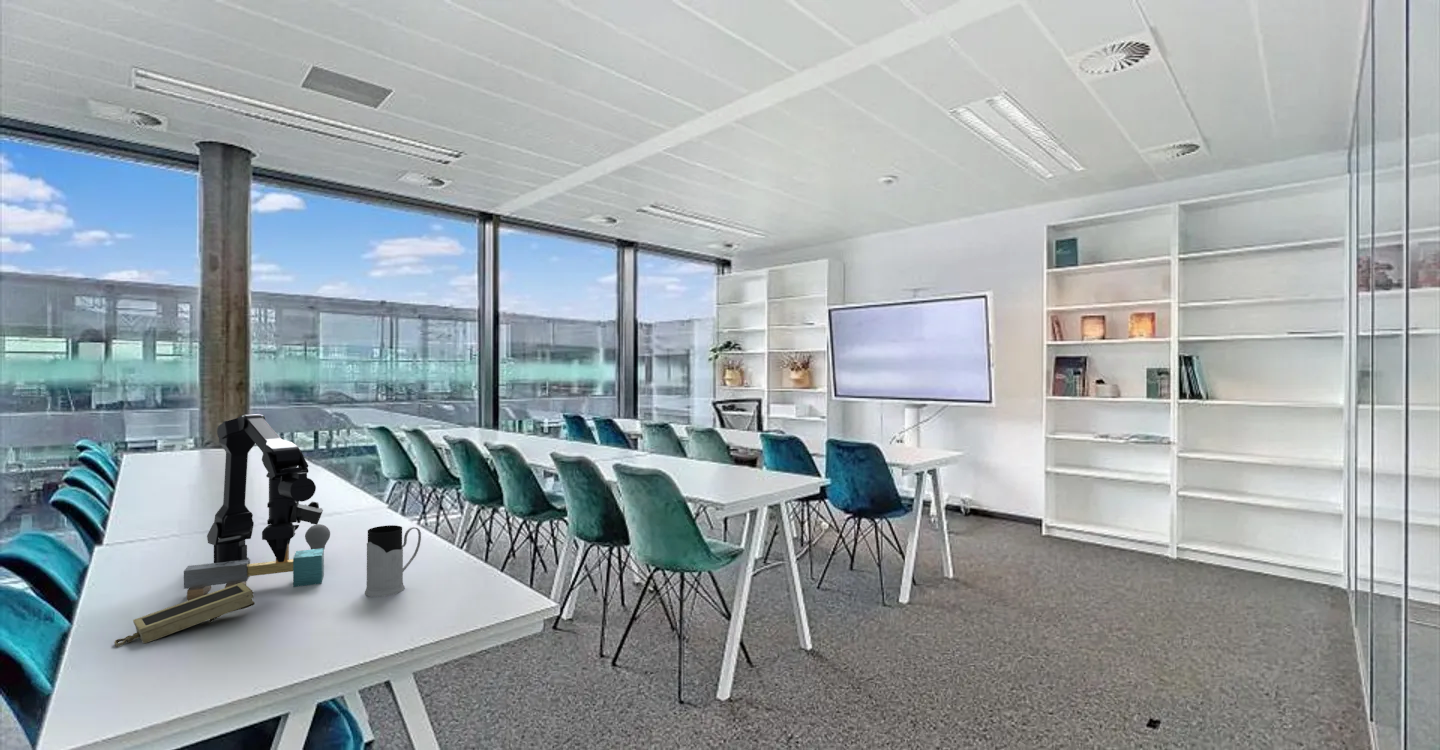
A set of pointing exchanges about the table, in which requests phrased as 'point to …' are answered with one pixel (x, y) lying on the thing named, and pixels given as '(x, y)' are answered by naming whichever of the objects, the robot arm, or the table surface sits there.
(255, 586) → the table surface
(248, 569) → the yellow sliding bolt
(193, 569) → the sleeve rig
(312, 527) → the light bulb
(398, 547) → the glass holder
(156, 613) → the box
